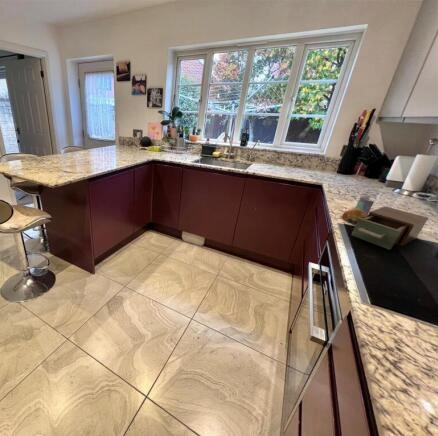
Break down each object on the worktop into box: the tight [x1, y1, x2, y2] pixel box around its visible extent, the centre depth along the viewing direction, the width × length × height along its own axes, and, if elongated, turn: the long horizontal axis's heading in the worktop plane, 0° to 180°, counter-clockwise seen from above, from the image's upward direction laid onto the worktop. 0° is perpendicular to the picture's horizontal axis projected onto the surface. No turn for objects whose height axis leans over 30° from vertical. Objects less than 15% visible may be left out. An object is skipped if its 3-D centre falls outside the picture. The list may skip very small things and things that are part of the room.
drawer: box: [350, 215, 410, 251], centre depth 93 cm, size 20×13×8 cm, turn 118°
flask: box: [354, 194, 375, 214], centre depth 120 cm, size 9×3×11 cm, turn 164°
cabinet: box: [367, 206, 429, 247], centre depth 99 cm, size 16×14×10 cm
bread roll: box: [341, 207, 369, 225], centre depth 112 cm, size 10×10×8 cm
